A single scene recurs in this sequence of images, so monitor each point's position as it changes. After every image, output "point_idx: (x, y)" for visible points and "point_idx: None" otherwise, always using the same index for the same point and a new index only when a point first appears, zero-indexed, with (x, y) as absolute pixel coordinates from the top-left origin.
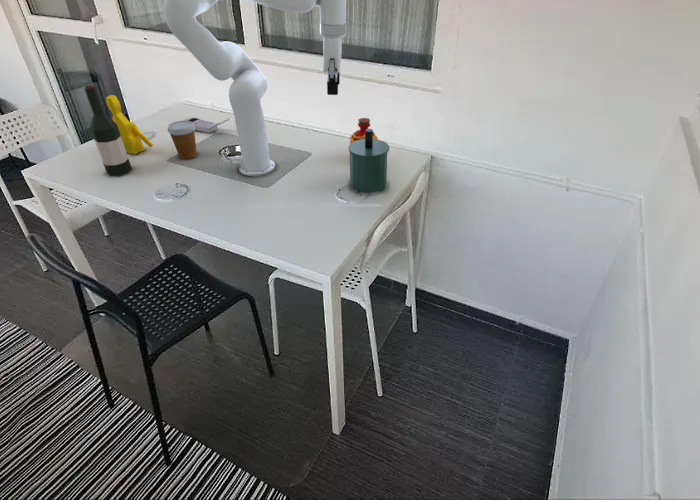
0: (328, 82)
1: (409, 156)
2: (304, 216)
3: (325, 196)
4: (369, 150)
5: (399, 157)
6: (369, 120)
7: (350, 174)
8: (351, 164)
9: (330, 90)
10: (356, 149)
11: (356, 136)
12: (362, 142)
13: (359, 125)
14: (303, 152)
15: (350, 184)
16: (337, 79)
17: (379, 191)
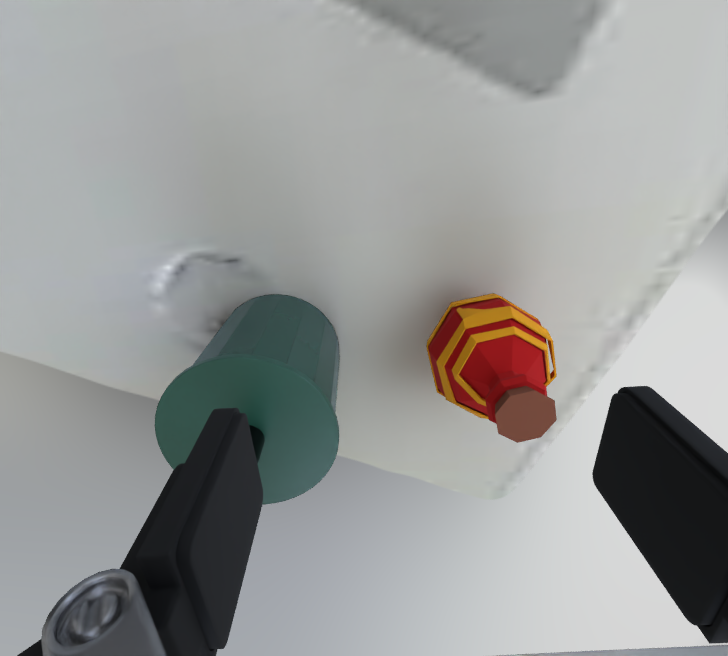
0: (153, 553)
1: (486, 456)
2: (18, 155)
3: (177, 215)
4: None
5: (481, 430)
6: (516, 440)
7: (242, 315)
8: (217, 341)
9: (172, 483)
10: (209, 393)
11: (470, 349)
12: (293, 411)
13: (501, 385)
14: (567, 47)
15: (253, 300)
16: (632, 515)
17: None
